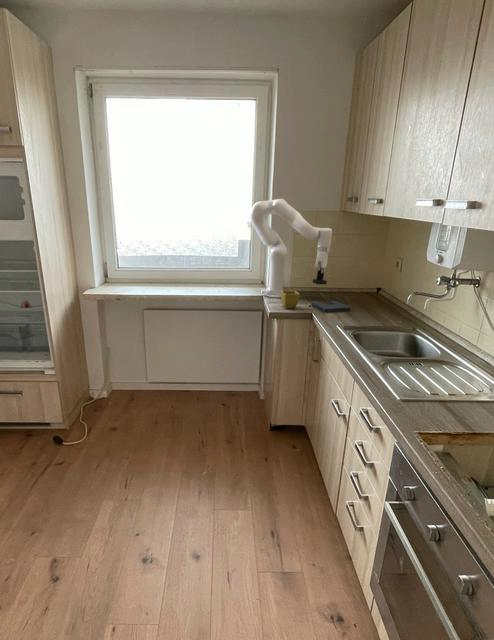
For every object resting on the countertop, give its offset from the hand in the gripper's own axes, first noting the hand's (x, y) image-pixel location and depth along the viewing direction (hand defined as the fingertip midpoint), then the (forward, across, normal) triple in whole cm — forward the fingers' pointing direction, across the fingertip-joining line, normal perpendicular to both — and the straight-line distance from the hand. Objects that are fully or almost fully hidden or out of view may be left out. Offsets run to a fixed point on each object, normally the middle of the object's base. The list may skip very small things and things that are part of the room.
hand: (319, 279), depth 260 cm
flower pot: (+13, +31, -8) cm, 34 cm away
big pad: (+12, +20, +14) cm, 27 cm away
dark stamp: (+3, 0, 0) cm, 3 cm away
